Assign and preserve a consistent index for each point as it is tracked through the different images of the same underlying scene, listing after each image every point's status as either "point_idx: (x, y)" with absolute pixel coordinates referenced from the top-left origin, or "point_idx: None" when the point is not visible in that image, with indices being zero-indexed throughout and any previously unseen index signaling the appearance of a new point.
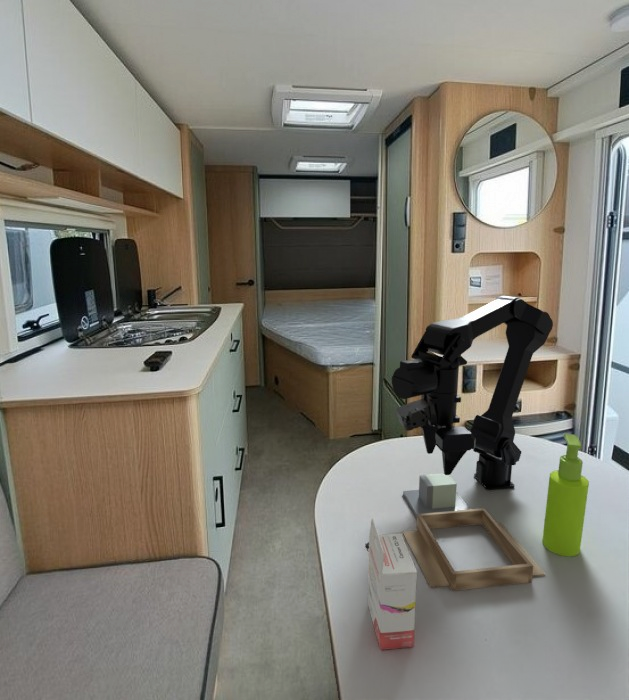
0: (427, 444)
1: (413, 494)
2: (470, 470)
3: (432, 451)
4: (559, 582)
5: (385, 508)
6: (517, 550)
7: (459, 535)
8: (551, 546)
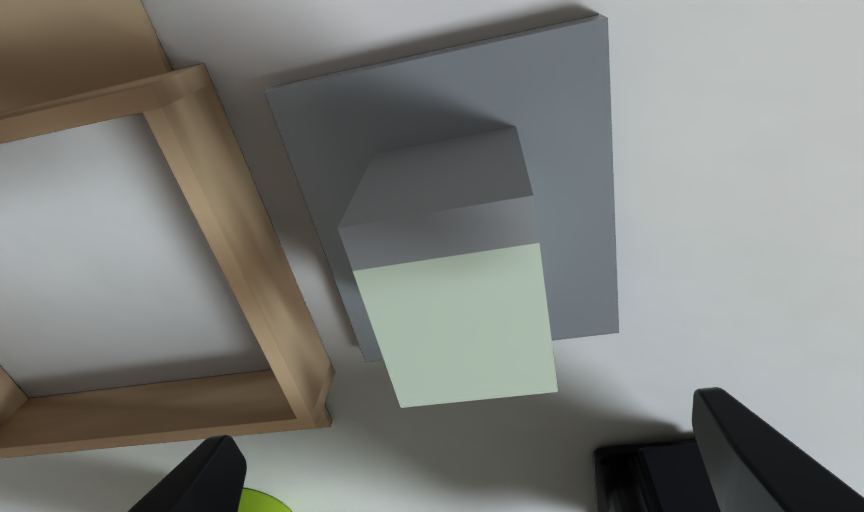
0: (758, 491)
1: (552, 94)
2: (802, 434)
3: (700, 446)
4: (65, 464)
5: None
6: (39, 447)
7: (209, 265)
8: None
